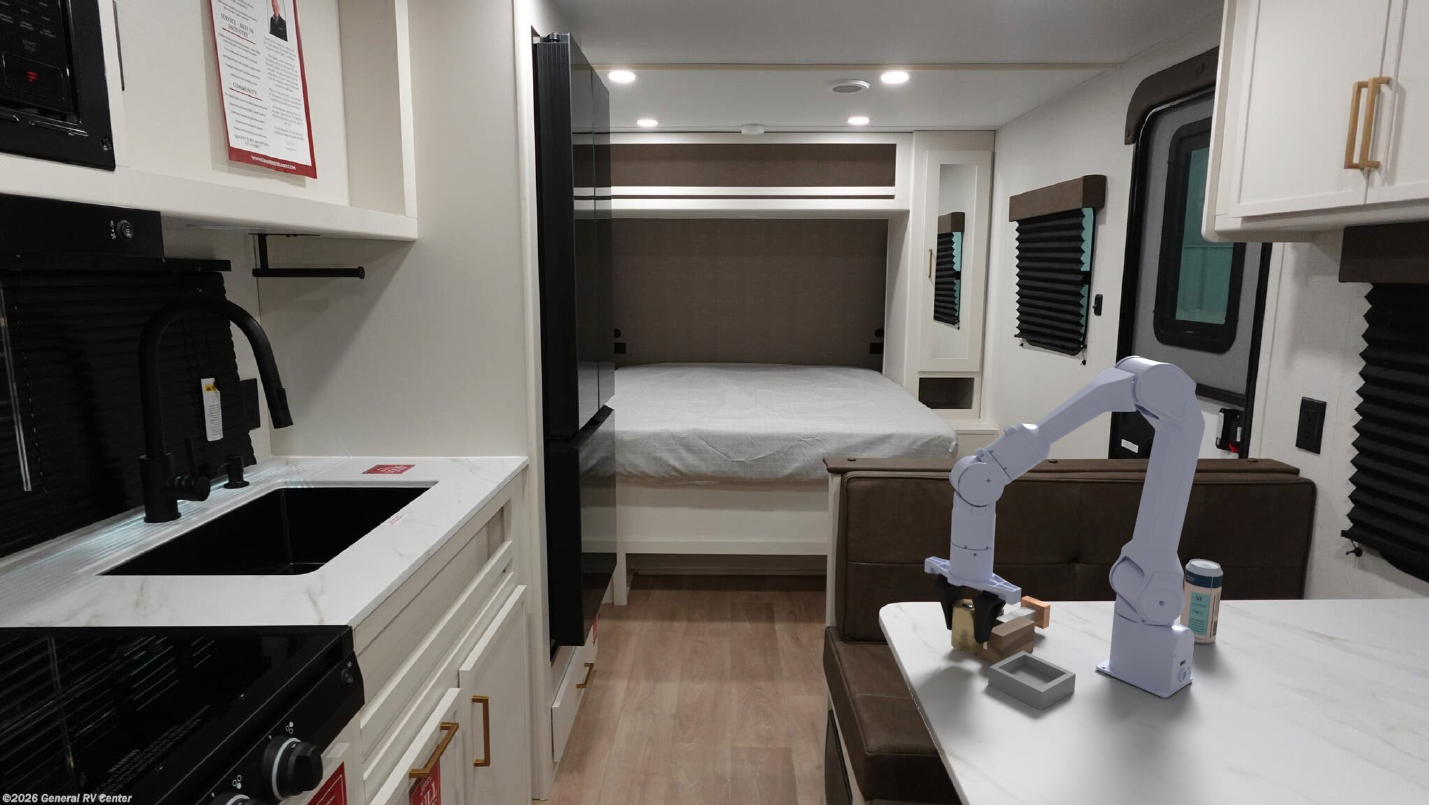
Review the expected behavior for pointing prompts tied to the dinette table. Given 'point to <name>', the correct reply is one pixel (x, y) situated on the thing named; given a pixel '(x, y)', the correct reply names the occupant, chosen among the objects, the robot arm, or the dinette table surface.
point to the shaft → (1029, 612)
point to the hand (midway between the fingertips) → (967, 634)
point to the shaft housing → (1009, 639)
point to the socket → (1032, 679)
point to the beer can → (1202, 599)
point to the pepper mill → (964, 627)
